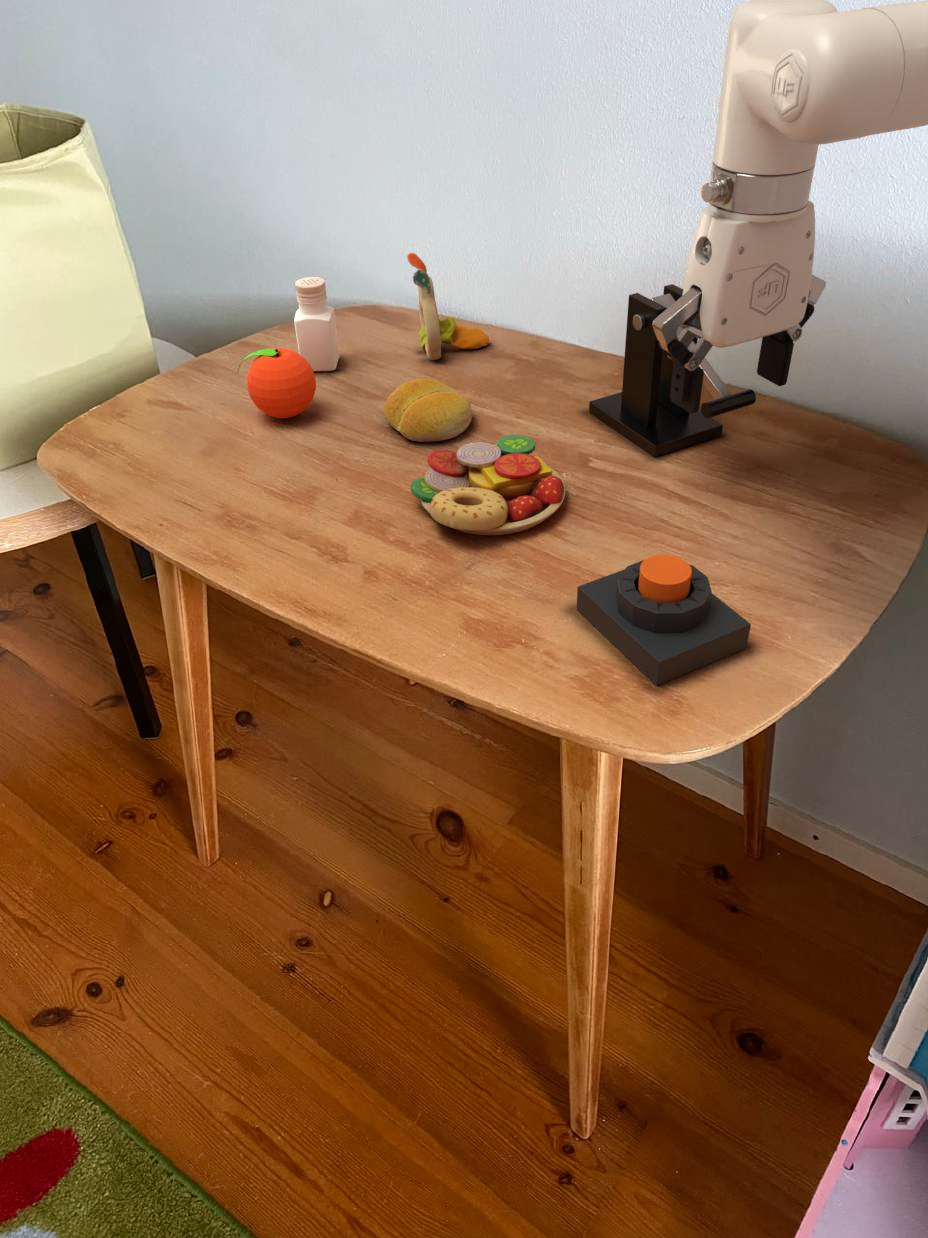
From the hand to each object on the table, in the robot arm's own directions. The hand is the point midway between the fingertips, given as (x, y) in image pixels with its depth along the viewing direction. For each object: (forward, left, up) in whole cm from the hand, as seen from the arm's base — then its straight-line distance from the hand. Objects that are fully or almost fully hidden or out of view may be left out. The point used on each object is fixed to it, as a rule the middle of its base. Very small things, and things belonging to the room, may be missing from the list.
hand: (728, 393), depth 86 cm
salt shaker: (+41, +23, -7) cm, 47 cm away
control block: (-16, +19, -7) cm, 26 cm away
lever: (+6, 0, +1) cm, 6 cm away
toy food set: (+6, +21, -7) cm, 23 cm away
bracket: (+10, 0, -7) cm, 12 cm away
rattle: (+36, +9, -7) cm, 38 cm away
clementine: (+32, +31, -7) cm, 45 cm away
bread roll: (+22, +19, -7) cm, 30 cm away
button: (-16, +19, -4) cm, 25 cm away
